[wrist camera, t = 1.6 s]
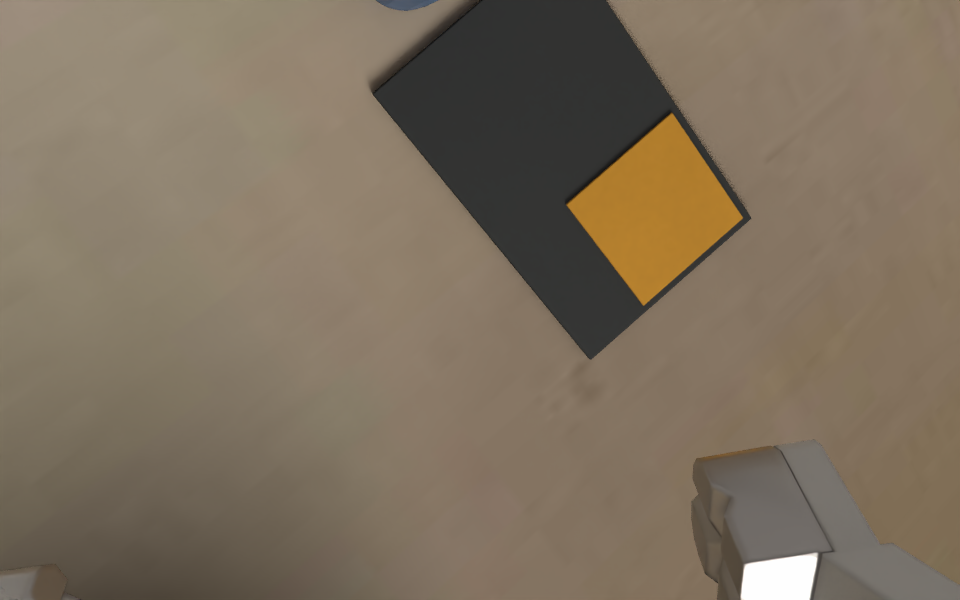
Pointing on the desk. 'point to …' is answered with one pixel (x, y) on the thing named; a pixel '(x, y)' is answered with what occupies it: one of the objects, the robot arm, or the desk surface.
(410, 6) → the vase
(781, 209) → the desk surface
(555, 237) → the desk mat
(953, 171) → the desk surface
